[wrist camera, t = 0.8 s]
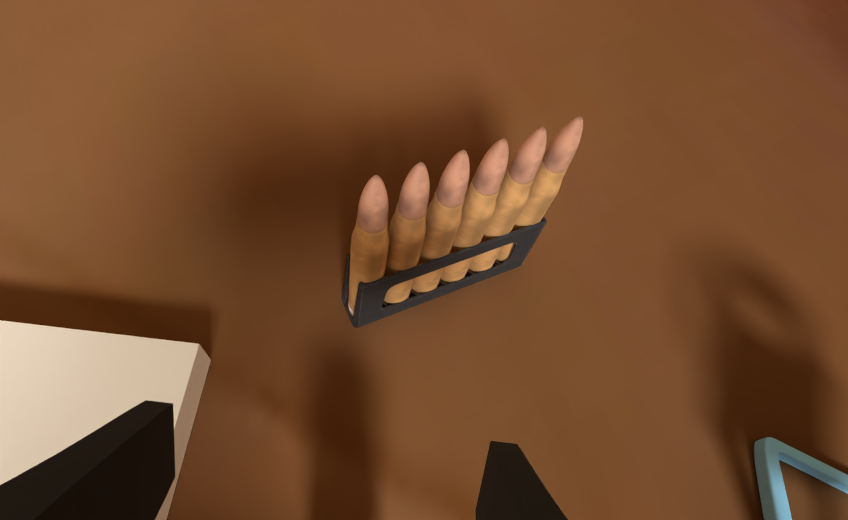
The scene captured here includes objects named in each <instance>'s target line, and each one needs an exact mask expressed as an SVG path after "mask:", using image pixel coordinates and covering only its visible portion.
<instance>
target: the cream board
mask: <svg viewBox="0 0 848 520" xmlns="http://www.w3.org/2000/svg"><path fill="white" fill-rule="evenodd" d="M210 362H211V359H210V358H209V357H208V355H207V354H206V352H205V351H204V350H203V348H202V347H201V346H200V344H196V343H188V342H179V341H171V340H162V339H154V338H145V337H137V336H128V335H120V334H111V333H103V332H94V331H86V330H77V329H69V328H60V327H52V326H43V325H35V324H26V323H18V322H9V321H1V320H0V485H1V484H3V483H5V482H7V481H9V480H10V479H12V478H14V477H16V476H18V475H19V474H21V473H23V472H25V471H27V470H28V469H30V468H32V467H34V466H36V465H38V464H39V463H41V462H43V461H45V460H47V459H48V458H50V457H52V456H54V455H56V454H57V453H59V452H61V451H62V450H64V449H66V448H67V447H69V446H71V445H72V444H74V443H76V442H77V441H79V440H81V439H82V438H84V437H86V436H87V435H89V434H91V433H92V432H94V431H96V430H97V429H99V428H100V427H102V426H104V425H105V424H107V423H108V422H110V421H112V420H113V419H115V418H117V417H118V416H120V415H121V414H123V413H125V412H126V411H128V410H130V409H131V408H133V407H135V406H136V405H138V404H140V403H142V402H144V401H145V400H148V401H157V402H165V403H173V413H174V447H175V478H174V481H173V483H172V485H171V487H170V489H169V492H168V494H167V496H166V498H165V500H164V502H163V504H162V506H161V508H160V510H159V512H158V515H157V517H156V519H155V520H167V516H168V513H169V509H170V506H171V502H172V498H173V495H174V491H175V488H176V484H177V480H178V477H179V473H180V470H181V466H182V462H183V459H184V455H185V452H186V448H187V444H188V441H189V437H190V434H191V430H192V426H193V423H194V419H195V416H196V412H197V408H198V405H199V401H200V398H201V394H202V390H203V387H204V383H205V380H206V376H207V372H208V369H209V365H210Z"/></svg>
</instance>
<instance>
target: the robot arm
mask: <svg viewBox="0 0 848 520" xmlns="http://www.w3.org/2000/svg"><path fill="white" fill-rule="evenodd" d="M174 478H175V447H174V413H173V403H165V402H157V401H148V400H145V401H144V402H142V403H140V404H138V405H136V406H135V407H133V408H131V409H130V410H128V411H126V412H125V413H123V414H121V415H120V416H118V417H117V418H115V419H113V420H112V421H110V422H108V423H107V424H105V425H104V426H102V427H100V428H99V429H97V430H96V431H94V432H92V433H91V434H89V435H87V436H86V437H84V438H82V439H81V440H79V441H77V442H76V443H74V444H72V445H71V446H69V447H67V448H66V449H64V450H62V451H61V452H59V453H57V454H56V455H54V456H52V457H50V458H48V459H47V460H45V461H43V462H41V463H39V464H38V465H36V466H34V467H32V468H30V469H28V470H27V471H25V472H23V473H21V474H19V475H18V476H16V477H14V478H12V479H10V480H9V481H7V482H5V483H3V484H1V485H0V520H155V519H156V517H157V515H158V512H159V510H160V508H161V506H162V504H163V502H164V500H165V498H166V496H167V494H168V492H169V489H170V487H171V485H172V483H173V481H174ZM476 520H568V519H567V518H566V517H565V515H564V514H563V512H562V511H561V510H560V508H559V507H558V505H557V504H556V503H555V501H554V500H553V498H552V497H551V495H550V494H549V492H548V491H547V489H546V488H545V486H544V485H543V483H542V482H541V480H540V479H539V477H538V476H537V474H536V473H535V471H534V469H533V468H532V466H531V465H530V463H529V462H528V460H527V458H526V457H525V455H524V454H523V452H522V450H521V449H520V448H519V446H518V445H517V444H512V443H503V442H495V441H491V442H490V446H489V451H488V455H487V460H486V465H485V469H484V474H483V479H482V483H481V488H480V493H479V497H478V502H477V507H476Z"/></svg>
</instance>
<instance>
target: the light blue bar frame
mask: <svg viewBox="0 0 848 520" xmlns="http://www.w3.org/2000/svg"><path fill="white" fill-rule="evenodd" d="M754 458H755V468H756V474H757V481H758V487H759V493H760V499H761V505H762V511H763V517H764V520H792V517H791V513H790V508H789V504H788V500H787V495H786V491H785V486H784V482H783V477H782V472H781V468H780V463H779V460H781V461H783V462H785V463H787V464H789V465H791V466H793V467H795V468H797V469H799V470H801V471H803V472H805V473H807V474H809V475H811V476H813V477H815V478H817V479H819V480H821V481H823V482H825V483H827V484H829V485H831V486H833V487H835V488H837V489H839V490H841V491H843V492H845V493H847V494H848V475H847V474H845V473H843V472H841V471H839V470H837V469H835V468H833V467H831V466H829V465H827V464H825V463H823V462H821V461H819V460H817V459H815V458H813V457H811V456H809V455H807V454H805V453H803V452H801V451H799V450H797V449H795V448H793V447H791V446H789V445H787V444H785V443H783V442H781V441H779V440H777V439H775V438H772V437H766V438H763V439H760V440H757V441H755V443H754Z"/></svg>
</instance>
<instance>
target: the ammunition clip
mask: <svg viewBox="0 0 848 520" xmlns="http://www.w3.org/2000/svg"><path fill="white" fill-rule="evenodd" d="M582 130H583V119H582V117H581V116H578V117H576V118H574V119H572V120H571V121H570V122H568V123H567V124H566V125H565V126H564V127H563V128H562V129H561V130H560V131H559V132H558V133H557V135H556V136H555V137H554V139H553V140H552V142H551V143H550V145H549V146H548V148H547V150H546V152H545V147H546V129H545V128H544V127H540V128H538V129H537V130H535V131H534V132H533V133H531V134H530V135H529V136H528V138H527V139H526V140H525V141H524V142H523V143H522V145H521V146H520V148H519V149H518V151H517V152H516V154H515V156H514V158H513V160H512V162H511V164H510V165H509V167H508V169H507V170H506V168H507V163H508V143H507V140H506V139H505V138H502V139H500V140H498V141H497V142H496V143H494V144H493V145H492V146H491V148H490V149H489V150H488V151H487V152H486V154H485V155H484V157H483V159H482V161H481V162H480V164H479V166H478V168H477V170H476V173H475V175H474V177H473V179H472V181H471V183H470V185H469V187H468V182H469V173H470V163H469V157H468V154H467V152H466V151H465V150H461V151H459V152H458V153H456V154H455V155H454V156H453V158H452V159H451V160H450V161H449V163H448V165H447V166H446V168H445V170H444V172H443V174H442V176H441V178H440V180H439V184H438V187H437V189H436V191H435V194H434V197H433V200H432V201H431V203H430V204H429V206H428V201H429V191H430V182H429V175H428V171H427V168H426V166H425V164H424V163H423V162H419V163H417V164H416V165H415V166H414V167H413V168H412V169H411V171H410V172H409V174H408V175H407V177H406V179H405V181H404V183H403V186H402V188H401V191H400V195H399V201H398V203H397V206H396V210H395V213H394V215H393V217H392V219H391V221H390V224H389V231H388V196H387V192H386V188H385V185H384V182H383V181H382V179H381V178H380V177H379V176H378V175H374V176H373V177H371V178H370V179H369V181H368V182H367V184H366V185H365V187H364V189H363V192H362V194H361V197H360V201H359V206H358V215H357V219H356V226H355V228H354V230H353V233H352V238H351V253H350V254H348V255H347V259H346V268H345V277H344V286H343V295H342V301H343V303H344V306H345V308H346V310H347V313H348V315H349V317H350V320H351V322H352V325H353V327H357V328H358V327H360V326H363V325H366V324H368V323H371V322H374V321H376V320H379V319H382V318H384V317H387V316H389V315H392V314H395V313H397V312H400V311H403V310H405V309H408V308H411V307H413V306H416V305H418V304H421V303H424V302H426V301H429V300H432V299H434V298H437V297H440V296H442V295H445V294H447V293H450V292H453V291H455V290H458V289H461V288H463V287H466V286H469V285H471V284H474V283H476V282H479V281H482V280H484V279H487V278H490V277H492V276H495V275H498V274H500V273H503V272H505V271H508V270H511V269H513V268H516V267H519V266H521V265H522V263H523V261H524V260H525V258H526V256H527V254H528V253H529V251H530V249H531V248H532V246H533V244H534V243H535V241H536V239H537V238H538V236H539V234H540V233H541V231H542V229H543V228H544V226H545V224H546V222H547V221H546V219H545V218H544V217H543V216H544V214H545V213H546V211H547V209H548V208H549V206H550V204H551V203H552V201H553V199H554V198H555V196H556V195H557V193H558V191H559V188H560V186H561V182H562V178H563V176H564V174H565V173H566V171H567V168H568V166H569V164H570V162H571V160H572V159H573V157H574V154H575V152H576V150H577V147H578V145H579V142H580V139H581V135H582ZM544 152H545V154H544ZM467 187H468V189H467ZM427 206H428V208H427ZM542 217H543V218H542ZM541 219H542V220H541Z"/></svg>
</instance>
